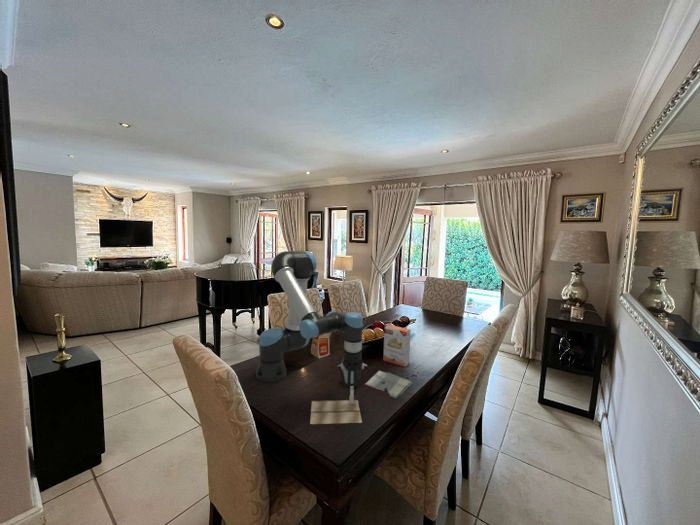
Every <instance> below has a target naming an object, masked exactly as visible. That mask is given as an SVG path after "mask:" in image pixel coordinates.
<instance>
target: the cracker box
mask: <svg viewBox="0 0 700 525" xmlns="http://www.w3.org/2000/svg"><path fill="white" fill-rule="evenodd" d="M383 338H384V339H383V355H382V356H383V359H382V360H383V361H384V362H387V363H389V364H390V363H391V364H394V365H397V366H400V367H404V368H406V367H407V366H408V365H409V364H410V363H409V362H410V347H411V329H410V328H404V327H401V326H397V325H392V324H388V325H385V326H384V337H383Z"/></svg>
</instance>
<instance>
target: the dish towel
mask: <svg viewBox="0 0 700 525" xmlns="http://www.w3.org/2000/svg"><path fill="white" fill-rule="evenodd" d="M364 384H365V385H367V386H368V387H372V388H374V389H377V390H380V391H383V392H385V389H386V391H387V392H388V395H389V398H391V399H394V400H397V399H398V398H399V397H401V396H402V394H403V393H405V392H404V391H405V390H406V389H407V388H408V387H409V388H410V386H411V385H412V384H413V382H412V381H411V380H409V379H406V378H404V377H401V376H398V375H396V374H393V373H391V372H384V371H381V370H378V371H377V372H376V373H375V374H374V375H373V376H372V377H371V378H370V379H368V381H367V382H366V383H364ZM409 388H408V389H409ZM408 389H407V390H408ZM407 390H406V391H407Z"/></svg>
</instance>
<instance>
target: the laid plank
mask: <svg viewBox="0 0 700 525" xmlns="http://www.w3.org/2000/svg"><path fill="white" fill-rule="evenodd" d="M309 421H310V422H309V424H310V425H326V424H327V425H328V424H329V425H332V424H333V425H334V424H361V423H363V421H362V415H361V410H356V411H317V412H311V411H310V420H309Z"/></svg>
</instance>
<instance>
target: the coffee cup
mask: <svg viewBox="0 0 700 525" xmlns="http://www.w3.org/2000/svg"><path fill="white" fill-rule="evenodd" d="M343 360H344V358H343V359H342V362H341V364H342V363H343ZM358 371H359V369H358V370H357V372H358ZM343 373H344V377H345V382H346V384H347V375H348V371H347V370H346V368H345V367H344V366H343ZM353 374H354V371H351V385H353Z"/></svg>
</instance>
